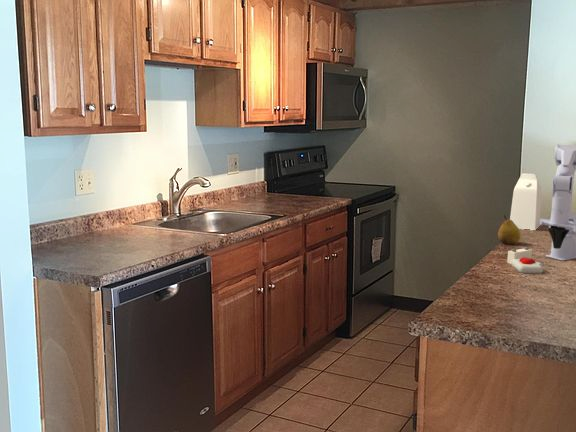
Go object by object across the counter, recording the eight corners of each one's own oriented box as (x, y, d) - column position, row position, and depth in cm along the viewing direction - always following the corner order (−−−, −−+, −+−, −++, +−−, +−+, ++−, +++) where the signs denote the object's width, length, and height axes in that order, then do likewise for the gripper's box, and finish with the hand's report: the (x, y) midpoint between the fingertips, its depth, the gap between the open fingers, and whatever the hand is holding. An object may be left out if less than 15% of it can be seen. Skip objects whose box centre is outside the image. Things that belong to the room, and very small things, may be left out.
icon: (549, 263, 225) (521, 262, 226) (548, 274, 226) (520, 274, 226) (537, 254, 237) (510, 254, 238) (536, 266, 238) (509, 265, 238)
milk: (539, 226, 311) (544, 173, 307) (534, 230, 302) (539, 175, 297) (514, 224, 318) (518, 171, 313) (508, 227, 308) (512, 173, 303)
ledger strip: (525, 259, 246) (526, 246, 245) (531, 261, 243) (532, 247, 242) (507, 262, 241) (508, 249, 240) (513, 264, 238) (514, 250, 237)
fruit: (524, 244, 272) (526, 216, 270) (506, 246, 268) (508, 218, 266) (510, 240, 280) (512, 213, 277) (493, 242, 276) (495, 214, 274)
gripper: (535, 207, 227) (532, 245, 229) (571, 214, 214) (568, 253, 217) (548, 206, 230) (545, 243, 233) (584, 212, 218) (581, 251, 220)
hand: (557, 248), depth 225 cm, fingers closed
